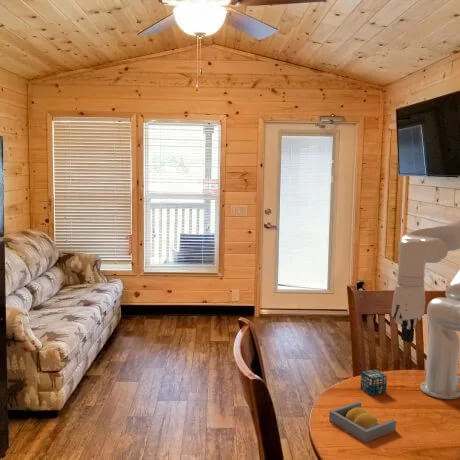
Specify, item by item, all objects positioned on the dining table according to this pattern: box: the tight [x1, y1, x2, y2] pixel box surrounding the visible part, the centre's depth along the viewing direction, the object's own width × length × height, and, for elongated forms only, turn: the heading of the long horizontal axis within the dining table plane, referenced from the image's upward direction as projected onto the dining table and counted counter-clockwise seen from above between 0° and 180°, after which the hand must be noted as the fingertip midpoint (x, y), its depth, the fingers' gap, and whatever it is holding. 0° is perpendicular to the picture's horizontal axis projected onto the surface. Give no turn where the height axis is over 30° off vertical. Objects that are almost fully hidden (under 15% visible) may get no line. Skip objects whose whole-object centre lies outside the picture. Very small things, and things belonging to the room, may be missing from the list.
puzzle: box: [360, 369, 388, 397], centre depth 169 cm, size 6×6×6 cm
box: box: [328, 401, 397, 443], centre depth 146 cm, size 12×14×3 cm
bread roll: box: [345, 407, 379, 429], centre depth 147 cm, size 8×9×4 cm
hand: (407, 340), depth 153 cm, fingers closed
